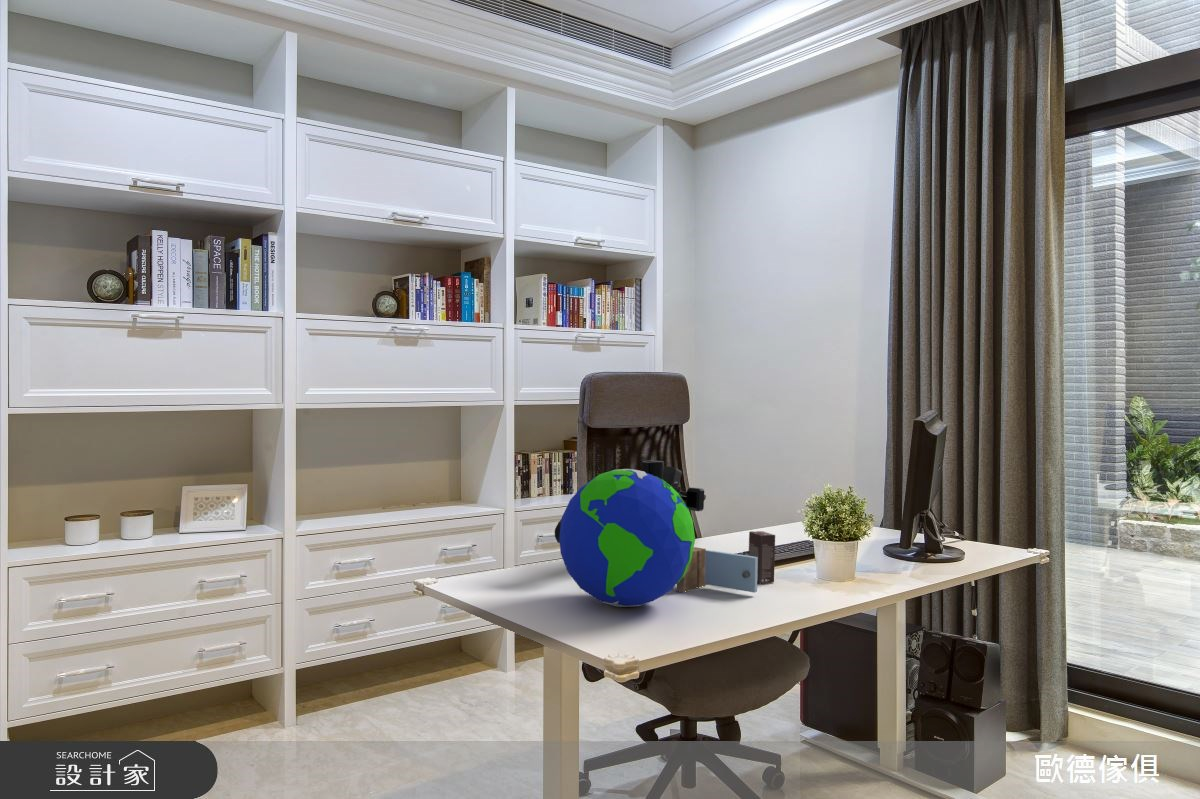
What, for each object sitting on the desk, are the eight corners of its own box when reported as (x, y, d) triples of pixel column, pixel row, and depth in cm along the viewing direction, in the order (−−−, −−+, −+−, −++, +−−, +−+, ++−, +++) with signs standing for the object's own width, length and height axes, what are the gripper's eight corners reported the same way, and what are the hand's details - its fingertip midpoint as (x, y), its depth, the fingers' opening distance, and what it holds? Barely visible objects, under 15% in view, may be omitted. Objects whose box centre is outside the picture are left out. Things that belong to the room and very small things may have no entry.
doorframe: (685, 593, 192) (686, 554, 192) (674, 591, 194) (675, 552, 194) (731, 576, 210) (732, 541, 209) (721, 574, 211) (721, 539, 211)
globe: (545, 620, 168) (547, 474, 168) (570, 585, 198) (572, 461, 197) (692, 628, 164) (694, 478, 164) (695, 591, 194) (697, 464, 193)
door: (702, 585, 196) (702, 551, 196) (707, 583, 198) (707, 549, 198) (752, 593, 188) (753, 558, 188) (757, 591, 190) (757, 557, 190)
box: (775, 583, 203) (776, 534, 203) (759, 584, 201) (760, 535, 201) (762, 577, 209) (763, 530, 208) (746, 578, 207) (747, 531, 207)
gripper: (687, 471, 221) (720, 470, 232) (633, 466, 233) (667, 464, 245) (685, 513, 221) (718, 509, 232) (632, 505, 233) (666, 502, 245)
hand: (692, 495), depth 238 cm, fingers open, 9 cm apart
